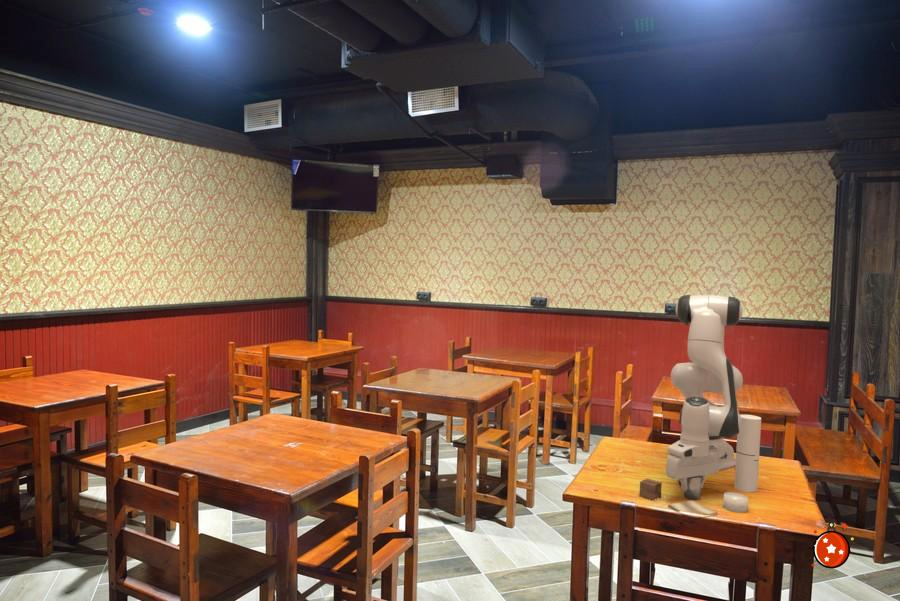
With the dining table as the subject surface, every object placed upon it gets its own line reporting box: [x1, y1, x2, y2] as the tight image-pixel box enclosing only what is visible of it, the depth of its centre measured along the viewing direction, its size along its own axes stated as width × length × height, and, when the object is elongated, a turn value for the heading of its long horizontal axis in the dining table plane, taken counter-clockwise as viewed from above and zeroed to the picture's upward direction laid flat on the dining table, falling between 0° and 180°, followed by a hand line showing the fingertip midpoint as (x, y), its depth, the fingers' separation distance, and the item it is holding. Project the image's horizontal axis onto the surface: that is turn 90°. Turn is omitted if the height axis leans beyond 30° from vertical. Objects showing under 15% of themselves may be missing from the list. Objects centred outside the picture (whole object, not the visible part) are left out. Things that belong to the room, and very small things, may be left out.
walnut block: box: [638, 478, 663, 501], centre depth 198 cm, size 5×5×5 cm
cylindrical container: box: [733, 414, 762, 493], centre depth 209 cm, size 7×7×25 cm
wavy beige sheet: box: [667, 500, 718, 516], centre depth 187 cm, size 10×10×1 cm
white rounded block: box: [722, 491, 749, 514], centre depth 191 cm, size 7×7×4 cm
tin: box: [683, 476, 701, 501], centre depth 199 cm, size 5×5×7 cm
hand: (692, 489), depth 199 cm, fingers closed on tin, 5 cm apart
